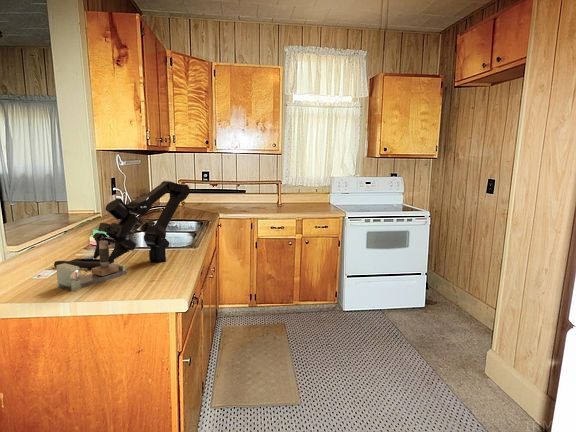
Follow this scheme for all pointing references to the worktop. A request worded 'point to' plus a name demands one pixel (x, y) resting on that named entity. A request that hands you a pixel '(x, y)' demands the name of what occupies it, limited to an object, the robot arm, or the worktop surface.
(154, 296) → the worktop surface
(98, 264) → the door handle
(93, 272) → the carriage
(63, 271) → the rail
